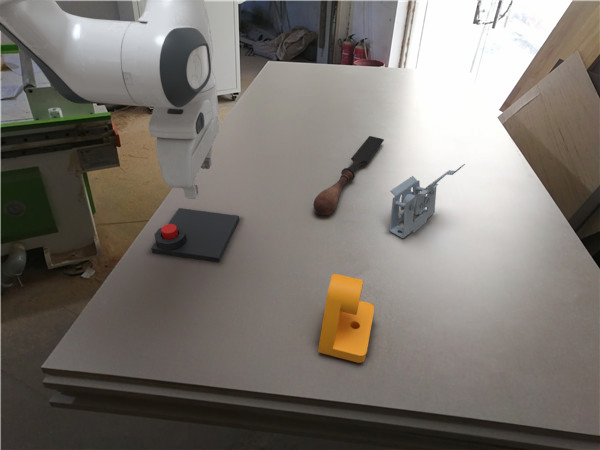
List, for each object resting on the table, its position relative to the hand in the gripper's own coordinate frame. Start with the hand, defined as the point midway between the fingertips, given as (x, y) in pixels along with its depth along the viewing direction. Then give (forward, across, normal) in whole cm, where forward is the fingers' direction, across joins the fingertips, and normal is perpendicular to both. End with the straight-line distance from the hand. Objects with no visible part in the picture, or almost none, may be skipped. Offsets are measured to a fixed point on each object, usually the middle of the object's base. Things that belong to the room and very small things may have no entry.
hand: (199, 180), depth 70 cm
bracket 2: (+18, -15, +42) cm, 49 cm away
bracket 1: (+18, +16, +27) cm, 36 cm away
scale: (+18, -6, -4) cm, 19 cm away
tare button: (+15, -3, -9) cm, 18 cm away
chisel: (+18, -34, +29) cm, 49 cm away
